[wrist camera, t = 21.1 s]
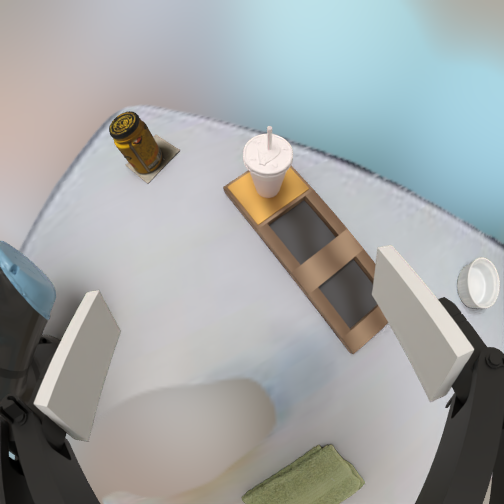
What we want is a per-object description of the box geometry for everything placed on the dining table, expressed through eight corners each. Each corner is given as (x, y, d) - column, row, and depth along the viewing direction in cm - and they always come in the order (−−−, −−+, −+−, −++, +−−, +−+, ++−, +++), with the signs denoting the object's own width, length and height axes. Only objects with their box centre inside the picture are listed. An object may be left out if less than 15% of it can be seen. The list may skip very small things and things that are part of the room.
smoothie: (293, 177, 44) (303, 120, 31) (280, 211, 43) (285, 161, 29) (256, 164, 45) (252, 106, 31) (240, 198, 44) (230, 144, 30)
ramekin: (458, 315, 39) (472, 313, 35) (450, 266, 41) (463, 261, 37) (488, 304, 39) (503, 302, 35) (480, 259, 41) (494, 253, 37)
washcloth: (366, 478, 34) (372, 486, 30) (283, 528, 32) (283, 538, 28) (325, 435, 36) (329, 443, 33) (236, 490, 34) (234, 499, 31)
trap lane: (349, 352, 39) (354, 354, 37) (224, 192, 46) (222, 186, 44) (400, 306, 40) (406, 305, 38) (277, 158, 48) (277, 150, 45)
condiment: (125, 165, 49) (97, 130, 38) (156, 135, 51) (134, 95, 39) (148, 184, 48) (119, 148, 36) (180, 151, 49) (160, 109, 38)
